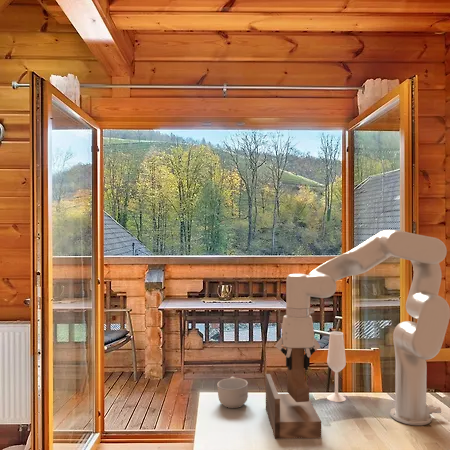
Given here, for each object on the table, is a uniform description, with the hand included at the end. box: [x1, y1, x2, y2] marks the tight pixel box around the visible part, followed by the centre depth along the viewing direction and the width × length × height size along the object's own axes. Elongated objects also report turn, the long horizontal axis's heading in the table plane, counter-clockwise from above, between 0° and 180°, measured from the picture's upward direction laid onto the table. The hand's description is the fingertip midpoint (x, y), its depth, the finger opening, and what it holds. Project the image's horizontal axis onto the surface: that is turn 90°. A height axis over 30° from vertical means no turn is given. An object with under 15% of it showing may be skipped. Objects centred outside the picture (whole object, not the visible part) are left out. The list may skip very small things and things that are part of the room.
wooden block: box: [286, 348, 310, 402], centre depth 149 cm, size 9×4×18 cm, turn 11°
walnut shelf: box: [265, 373, 322, 440], centre depth 149 cm, size 14×22×12 cm, turn 2°
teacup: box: [216, 376, 249, 409], centre depth 164 cm, size 14×11×8 cm
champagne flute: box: [326, 330, 347, 403], centre depth 168 cm, size 7×7×24 cm
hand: (297, 367), depth 149 cm, fingers closed on wooden block, 4 cm apart
